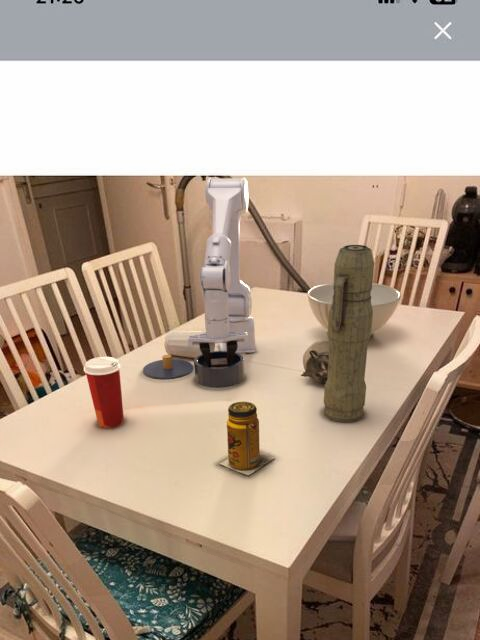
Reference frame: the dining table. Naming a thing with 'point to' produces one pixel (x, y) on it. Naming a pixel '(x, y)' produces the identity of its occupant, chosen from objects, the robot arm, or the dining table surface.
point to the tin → (219, 371)
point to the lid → (168, 368)
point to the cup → (183, 344)
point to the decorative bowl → (381, 300)
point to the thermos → (349, 334)
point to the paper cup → (105, 390)
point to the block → (219, 362)
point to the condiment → (244, 439)
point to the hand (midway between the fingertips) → (219, 371)
